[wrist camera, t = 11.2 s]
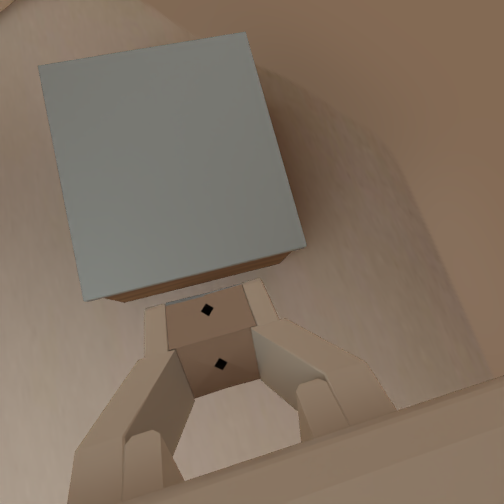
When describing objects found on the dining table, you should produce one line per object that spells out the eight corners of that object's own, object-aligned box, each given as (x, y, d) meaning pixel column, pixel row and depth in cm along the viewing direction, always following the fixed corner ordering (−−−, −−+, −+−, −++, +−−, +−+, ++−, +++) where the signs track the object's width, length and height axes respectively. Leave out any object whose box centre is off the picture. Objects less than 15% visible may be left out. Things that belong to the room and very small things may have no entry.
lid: (304, 247, 26) (307, 245, 25) (88, 301, 24) (83, 301, 23) (244, 39, 28) (245, 31, 27) (43, 73, 26) (37, 65, 25)
